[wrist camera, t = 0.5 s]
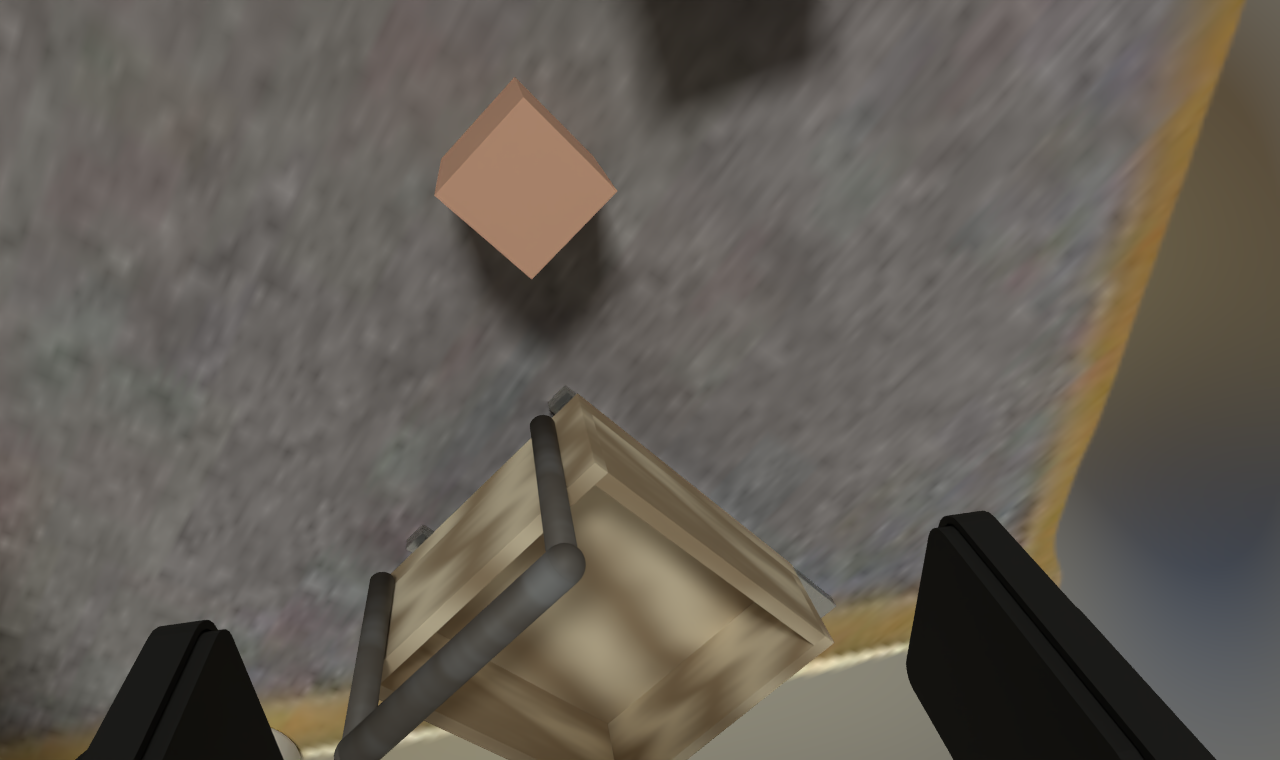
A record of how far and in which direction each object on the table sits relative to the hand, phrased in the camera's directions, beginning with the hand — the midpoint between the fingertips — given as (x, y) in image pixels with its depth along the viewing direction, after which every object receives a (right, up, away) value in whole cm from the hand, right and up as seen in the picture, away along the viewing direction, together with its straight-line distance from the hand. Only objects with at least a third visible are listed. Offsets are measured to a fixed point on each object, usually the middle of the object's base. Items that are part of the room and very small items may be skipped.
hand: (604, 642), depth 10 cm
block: (-5, +14, +25) cm, 29 cm away
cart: (-3, -6, +35) cm, 35 cm away
